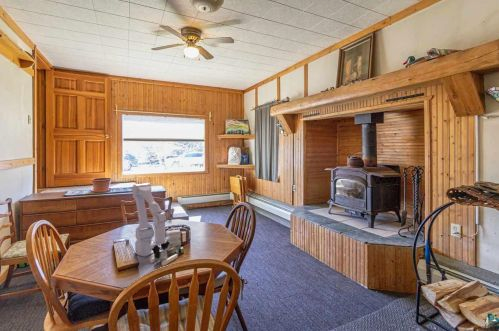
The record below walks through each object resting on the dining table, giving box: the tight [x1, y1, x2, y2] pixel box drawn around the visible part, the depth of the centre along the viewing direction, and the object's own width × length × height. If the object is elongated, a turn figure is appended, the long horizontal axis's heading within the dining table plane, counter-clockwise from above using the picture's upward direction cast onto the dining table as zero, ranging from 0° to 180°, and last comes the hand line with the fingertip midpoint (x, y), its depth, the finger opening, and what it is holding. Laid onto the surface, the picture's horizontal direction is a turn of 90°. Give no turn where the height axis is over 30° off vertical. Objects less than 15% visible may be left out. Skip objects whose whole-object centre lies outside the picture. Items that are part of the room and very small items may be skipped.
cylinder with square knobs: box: [168, 245, 185, 256], centre depth 164 cm, size 6×8×4 cm
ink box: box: [165, 229, 182, 252], centre depth 172 cm, size 9×5×12 cm, turn 117°
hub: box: [153, 246, 168, 262], centre depth 152 cm, size 5×5×6 cm
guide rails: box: [149, 254, 179, 267], centre depth 155 cm, size 10×12×2 cm
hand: (160, 256), depth 152 cm, fingers closed on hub, 5 cm apart
